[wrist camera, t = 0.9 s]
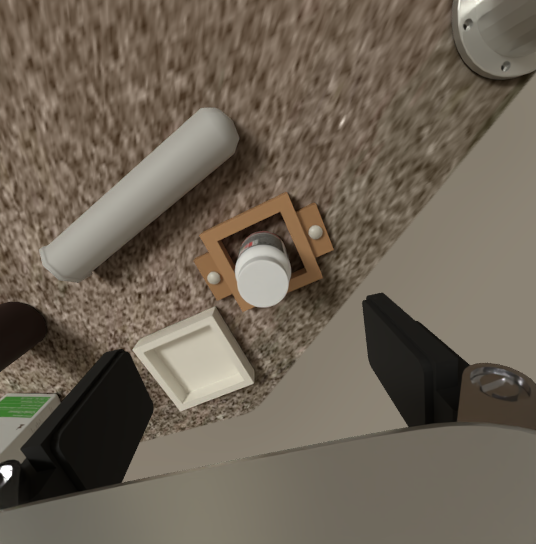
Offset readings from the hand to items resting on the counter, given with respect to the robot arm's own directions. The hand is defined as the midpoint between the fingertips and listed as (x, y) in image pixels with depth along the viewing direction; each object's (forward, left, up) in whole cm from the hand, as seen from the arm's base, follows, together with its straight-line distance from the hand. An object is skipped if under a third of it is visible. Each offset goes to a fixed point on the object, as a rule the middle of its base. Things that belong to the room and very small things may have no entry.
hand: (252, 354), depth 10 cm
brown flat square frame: (+1, +3, -23) cm, 23 cm away
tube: (+10, -9, -24) cm, 27 cm away
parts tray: (+16, +13, -23) cm, 31 cm away
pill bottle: (+1, +3, -23) cm, 23 cm away
